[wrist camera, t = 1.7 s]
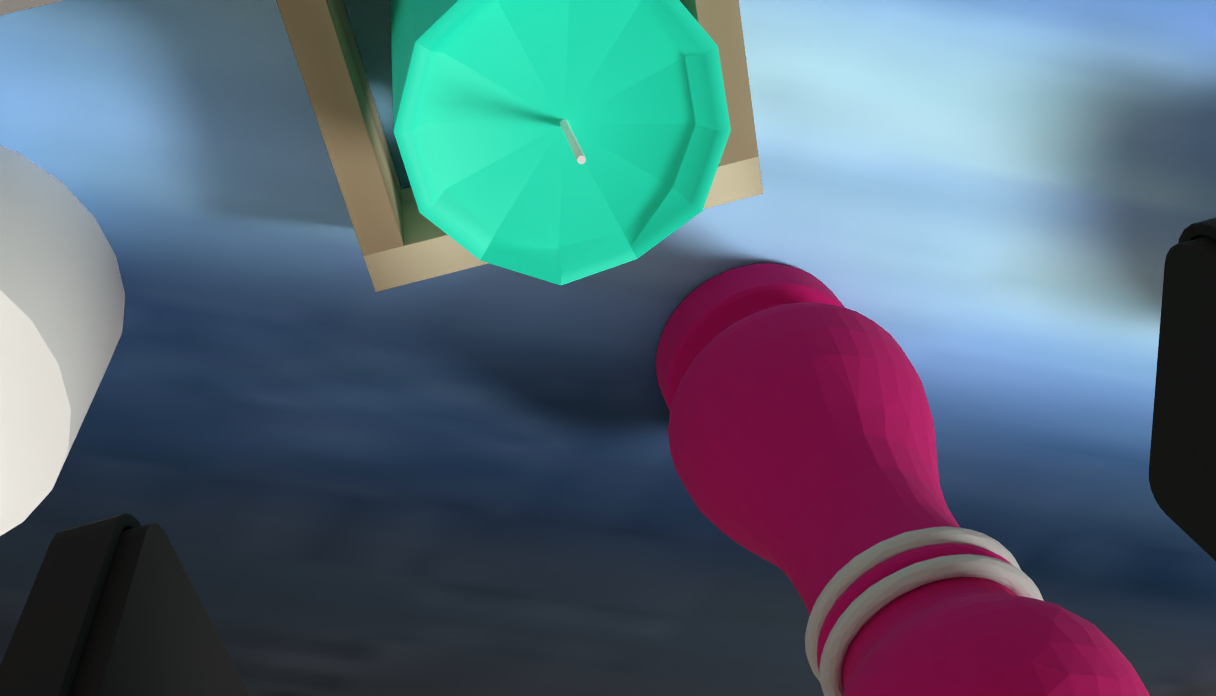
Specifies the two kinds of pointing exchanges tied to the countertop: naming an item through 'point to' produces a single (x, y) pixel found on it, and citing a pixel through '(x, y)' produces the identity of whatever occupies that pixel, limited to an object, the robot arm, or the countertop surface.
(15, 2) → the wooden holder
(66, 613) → the robot arm
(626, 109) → the candle
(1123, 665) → the pepper mill
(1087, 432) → the countertop surface
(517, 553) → the countertop surface
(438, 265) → the wooden frame
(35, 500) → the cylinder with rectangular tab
